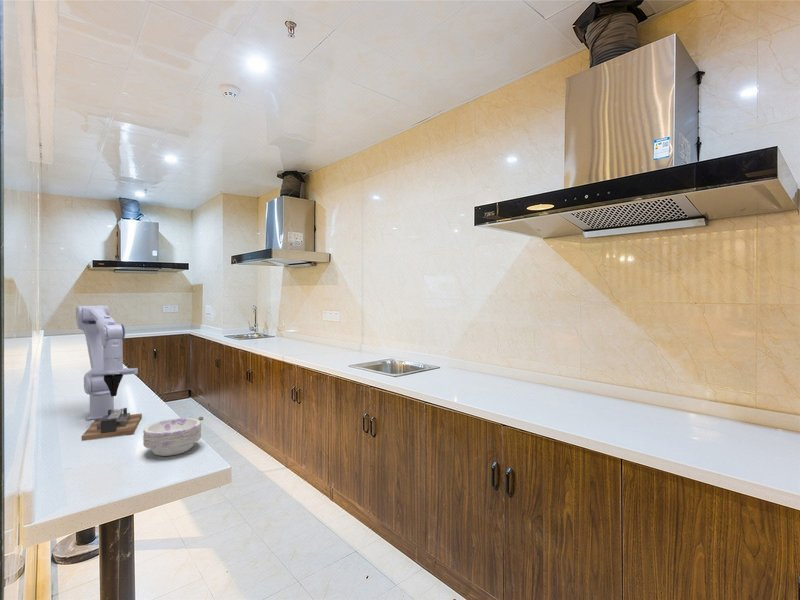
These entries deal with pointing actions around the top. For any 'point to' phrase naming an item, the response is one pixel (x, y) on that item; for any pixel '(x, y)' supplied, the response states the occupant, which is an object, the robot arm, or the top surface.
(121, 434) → the board
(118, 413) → the grey flat bar
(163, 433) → the paper bowls
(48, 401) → the top surface
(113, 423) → the clamp block
